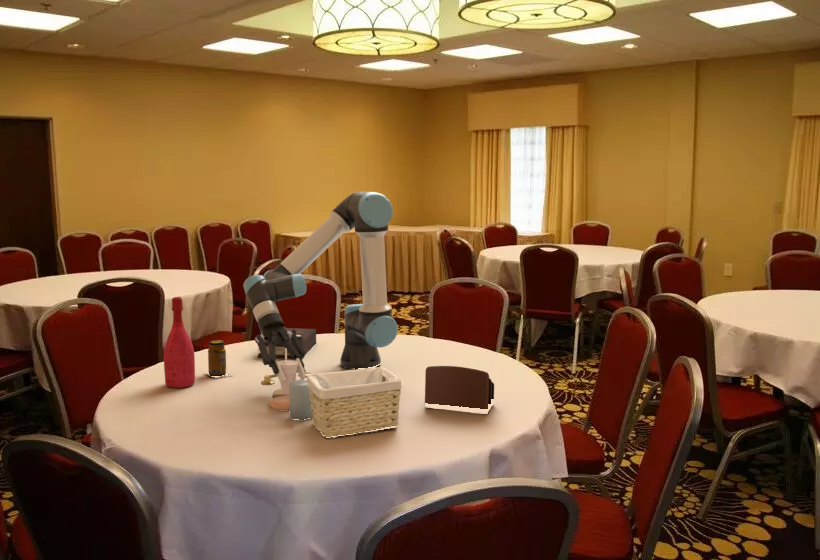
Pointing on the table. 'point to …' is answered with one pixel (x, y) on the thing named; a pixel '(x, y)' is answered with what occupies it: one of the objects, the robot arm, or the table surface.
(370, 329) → the robot arm
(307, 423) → the table surface
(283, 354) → the dark electronic device
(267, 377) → the balance
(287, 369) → the smoothie
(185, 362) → the wine bottle
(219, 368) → the condiment
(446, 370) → the toaster
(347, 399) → the storage basket
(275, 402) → the dish
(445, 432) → the table surface
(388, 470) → the table surface
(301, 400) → the grey domed cylinder
